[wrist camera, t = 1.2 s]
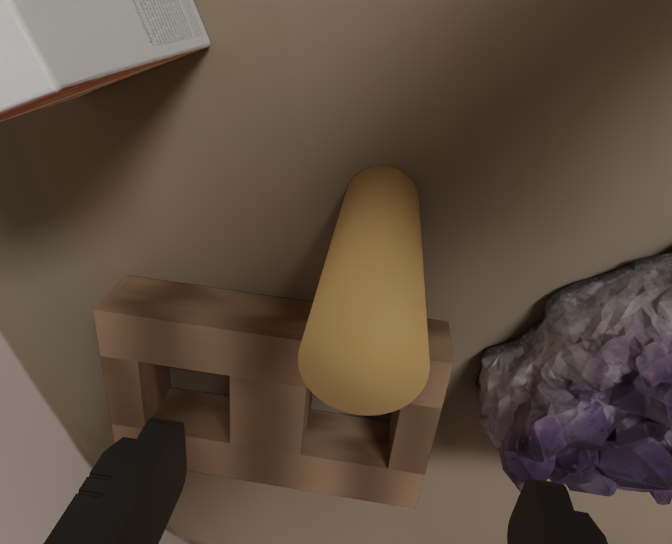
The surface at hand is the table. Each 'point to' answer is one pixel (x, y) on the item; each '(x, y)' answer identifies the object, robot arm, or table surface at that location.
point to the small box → (86, 46)
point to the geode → (589, 386)
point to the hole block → (257, 392)
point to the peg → (370, 301)
